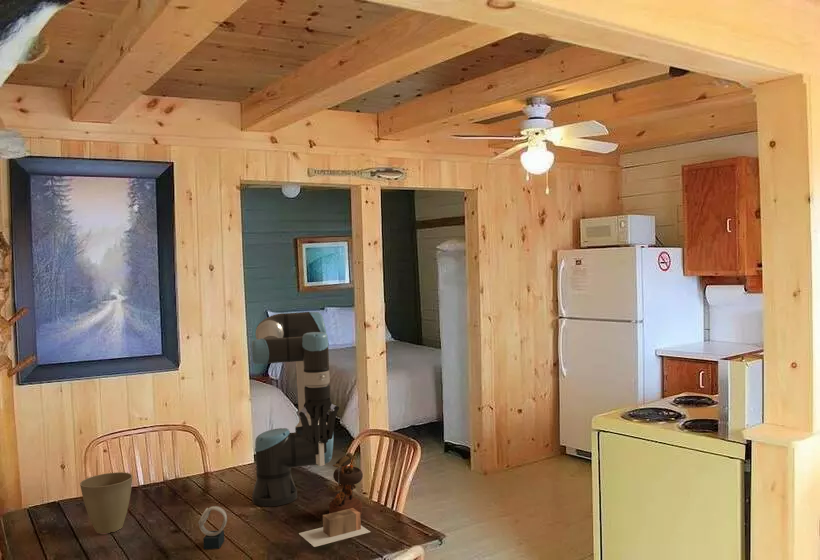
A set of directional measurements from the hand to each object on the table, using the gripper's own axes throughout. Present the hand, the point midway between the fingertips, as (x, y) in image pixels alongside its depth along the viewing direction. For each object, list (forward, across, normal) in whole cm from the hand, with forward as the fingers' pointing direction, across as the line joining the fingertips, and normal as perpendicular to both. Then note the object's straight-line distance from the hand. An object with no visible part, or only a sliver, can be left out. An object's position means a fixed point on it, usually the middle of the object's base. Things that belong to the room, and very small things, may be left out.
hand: (320, 464), depth 201 cm
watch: (+21, -29, +13) cm, 38 cm away
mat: (+21, +3, -2) cm, 21 cm away
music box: (+21, +13, +10) cm, 27 cm away
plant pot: (+21, -52, +45) cm, 72 cm away
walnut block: (+18, 0, -2) cm, 18 cm away
